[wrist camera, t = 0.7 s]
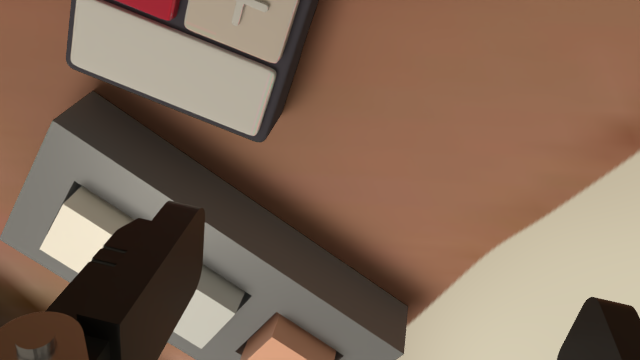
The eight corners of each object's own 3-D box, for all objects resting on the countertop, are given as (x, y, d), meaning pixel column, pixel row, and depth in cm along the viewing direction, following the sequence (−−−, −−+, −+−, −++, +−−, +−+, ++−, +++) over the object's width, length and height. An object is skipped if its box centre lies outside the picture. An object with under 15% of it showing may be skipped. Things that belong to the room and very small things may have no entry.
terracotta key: (282, 306, 35) (271, 337, 33) (338, 343, 36) (331, 374, 34) (247, 340, 37) (235, 370, 35) (300, 373, 38) (292, 405, 36)
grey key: (188, 245, 34) (171, 273, 32) (248, 284, 35) (235, 313, 32) (158, 284, 36) (141, 311, 34) (215, 319, 37) (201, 349, 35)
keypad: (92, 90, 33) (52, 120, 29) (408, 306, 37) (403, 354, 34) (37, 203, 39) (-1, 239, 35) (315, 379, 43) (303, 425, 40)
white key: (87, 179, 33) (62, 203, 30) (151, 221, 33) (132, 247, 31) (63, 223, 35) (39, 249, 33) (124, 262, 36) (104, 289, 34)
